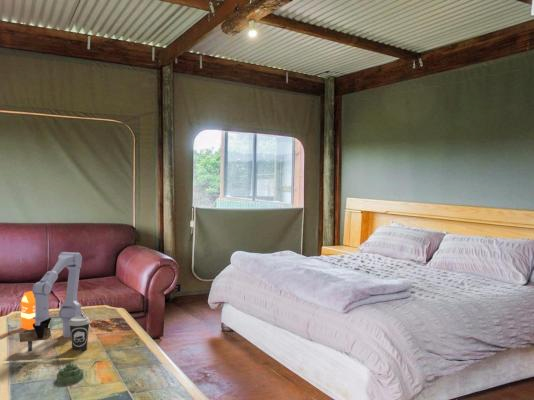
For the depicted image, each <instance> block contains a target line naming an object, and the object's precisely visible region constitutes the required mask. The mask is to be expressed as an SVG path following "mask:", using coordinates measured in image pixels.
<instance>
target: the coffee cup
mask: <svg viewBox="0 0 534 400" xmlns="http://www.w3.org/2000/svg"><path fill="white" fill-rule="evenodd" d="M90 323H91V321H90V319H89V317H88V316H84V315H81V316H80V317H74V318H72V319H71V320H70V322H69V325H70V332H71V337H70V338H71V339H70V341H71V349H72V350H74V351H79V350H80V353H81V352H85V351H86V350H88V342H89V328H90Z"/></svg>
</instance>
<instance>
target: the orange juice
mask: <svg viewBox="0 0 534 400" xmlns="http://www.w3.org/2000/svg"><path fill="white" fill-rule="evenodd" d="M33 317H35V298H34V294H33V293H32V290H29V291H25V292H24V294H23V296H22V298H21V301H20V323H21V324H20V325H21V326H20V328H21V329H23V330H29V329H34V327H33V324H34V323H35V319H33Z"/></svg>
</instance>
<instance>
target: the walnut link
mask: <svg viewBox="0 0 534 400" xmlns="http://www.w3.org/2000/svg"><path fill="white" fill-rule="evenodd" d="M18 334H19V343H25V342H27V343H28V341H43V340H49V338H50V337H51V336H52V335H51V334H52V333H51V327H48V328H45V329H44V335H43V338H41V339H38V338H37V334H36V331H35V329H29V330H28V329H22V331H20V333H18Z"/></svg>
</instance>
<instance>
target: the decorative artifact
mask: <svg viewBox="0 0 534 400" xmlns="http://www.w3.org/2000/svg"><path fill="white" fill-rule="evenodd" d="M83 379H84V370H83V369H82V368H79V366H77V364H74V363H72V362H70V361H69V363H68V364H66V366H64V367H63V368H59V370H58V372H57V373H56V382H57V383H58V384H61V385H68V384H74V383H77V382H80V381H82V380H83Z"/></svg>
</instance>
